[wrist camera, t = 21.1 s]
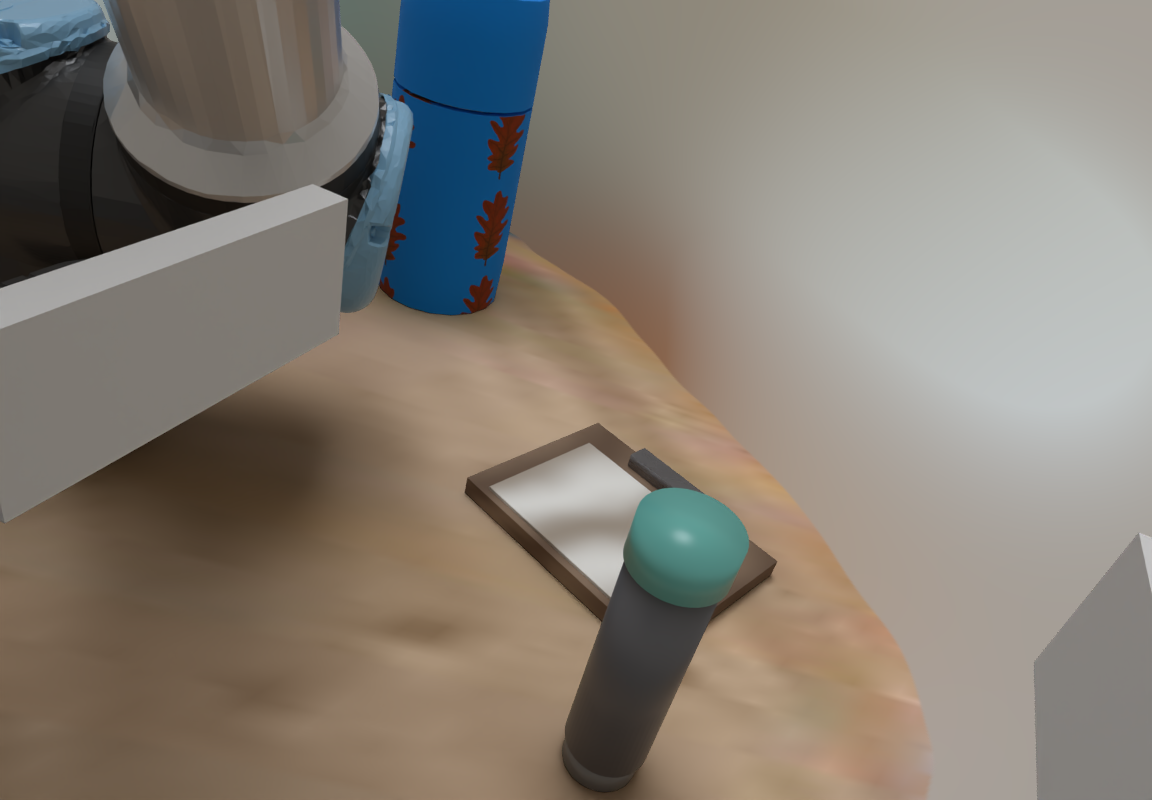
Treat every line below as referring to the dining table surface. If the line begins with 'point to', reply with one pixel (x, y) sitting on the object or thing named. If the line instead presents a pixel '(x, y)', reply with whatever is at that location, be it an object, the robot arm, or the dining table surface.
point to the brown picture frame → (587, 511)
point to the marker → (650, 631)
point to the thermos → (461, 146)
